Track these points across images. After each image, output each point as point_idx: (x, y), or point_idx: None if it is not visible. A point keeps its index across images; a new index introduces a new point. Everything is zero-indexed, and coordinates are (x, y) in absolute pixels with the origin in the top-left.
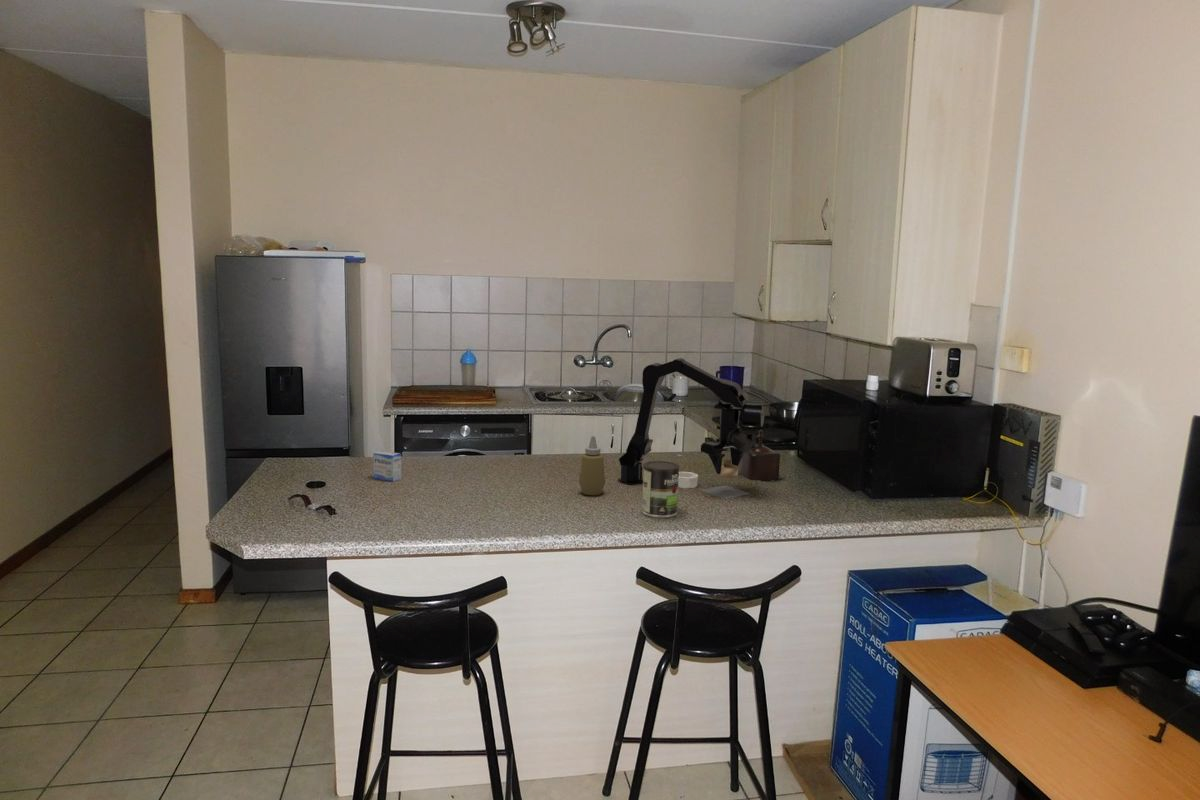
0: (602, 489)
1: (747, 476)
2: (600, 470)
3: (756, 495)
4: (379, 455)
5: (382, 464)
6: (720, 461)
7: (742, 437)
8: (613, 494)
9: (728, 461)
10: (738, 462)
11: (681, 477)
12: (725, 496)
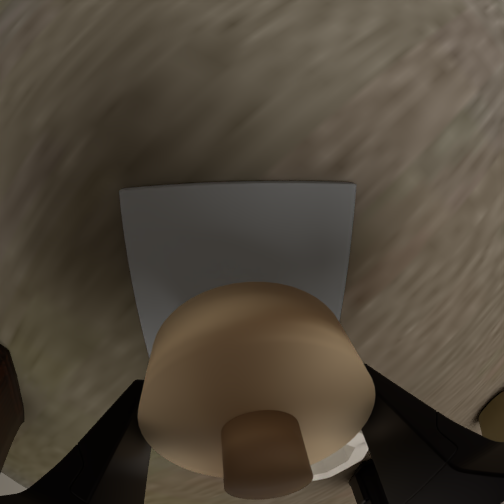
0: (495, 405)
1: (9, 381)
2: None
3: (89, 169)
4: None
5: None
6: (451, 437)
7: None
8: (486, 393)
9: (287, 470)
10: (105, 437)
11: (363, 442)
12: (315, 223)
